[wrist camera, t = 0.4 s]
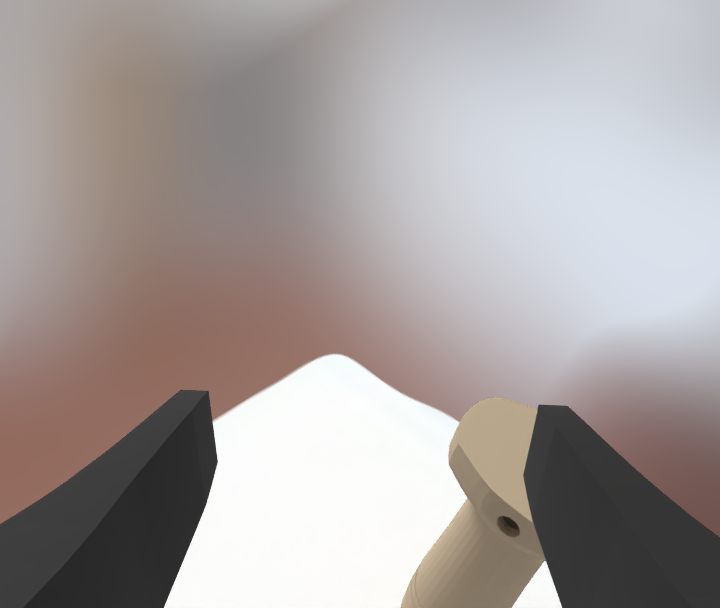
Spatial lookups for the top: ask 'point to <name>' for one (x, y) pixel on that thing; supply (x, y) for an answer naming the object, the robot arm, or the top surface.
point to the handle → (484, 516)
